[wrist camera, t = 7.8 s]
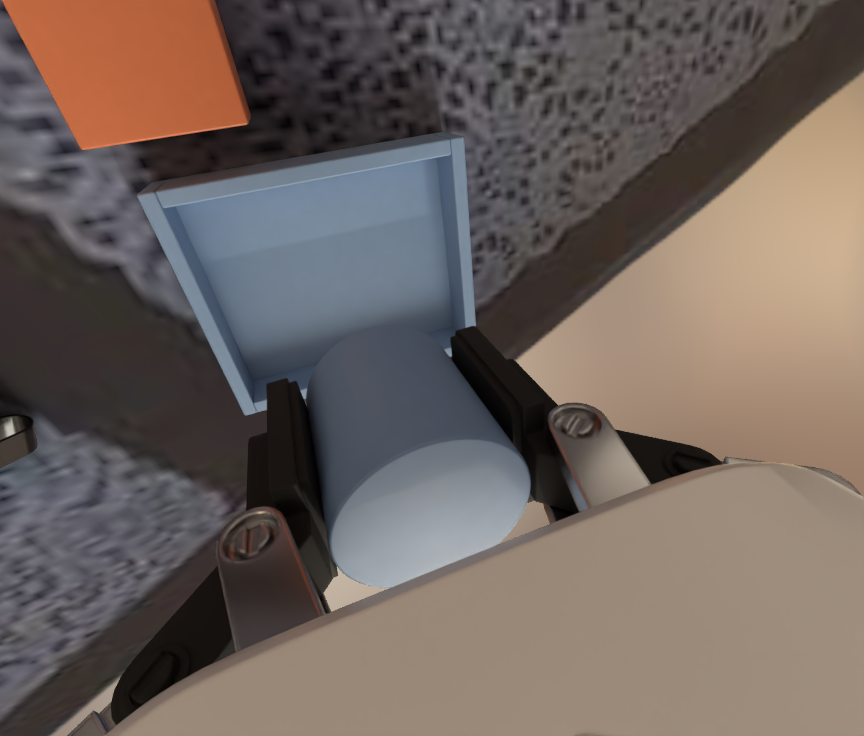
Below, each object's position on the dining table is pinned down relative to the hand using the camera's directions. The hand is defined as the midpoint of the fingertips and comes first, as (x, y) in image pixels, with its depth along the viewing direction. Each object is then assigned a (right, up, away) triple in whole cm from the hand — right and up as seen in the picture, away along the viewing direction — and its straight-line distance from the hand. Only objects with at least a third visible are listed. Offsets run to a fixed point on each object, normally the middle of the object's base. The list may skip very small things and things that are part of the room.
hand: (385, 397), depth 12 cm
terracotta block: (-8, +12, +2) cm, 14 cm away
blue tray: (-3, +6, +8) cm, 11 cm away
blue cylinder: (0, 0, 0) cm, 0 cm away
